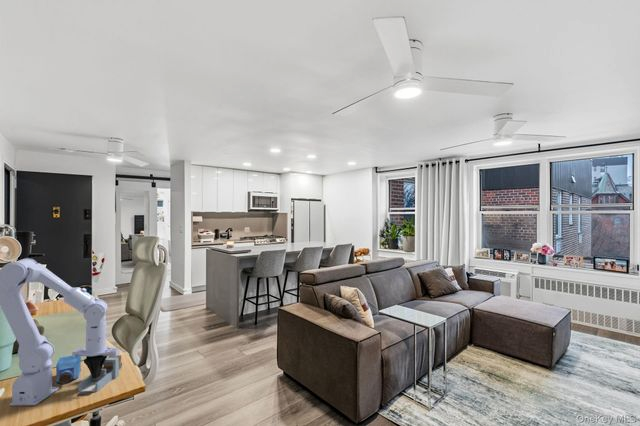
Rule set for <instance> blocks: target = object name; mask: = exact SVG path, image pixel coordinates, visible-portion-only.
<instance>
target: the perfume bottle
mask: <svg viewBox="0 0 640 426" xmlns="http://www.w3.org/2000/svg"><path fill="white" fill-rule="evenodd" d="M81 358H82V356H77V357H72V355H67V356H62V357H59V358H58V361H57V363H56V366H55V367H56V370H55V371H56V373H55V374H56V376H55V377H56V380H55V382H56V384H57V383H60V384H68V382H70V381H71V380H74V379H75V380H76V379H79V378H80V374H81V371H82V369H81V366H82V365H81V363H82V359H81Z"/></svg>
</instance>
